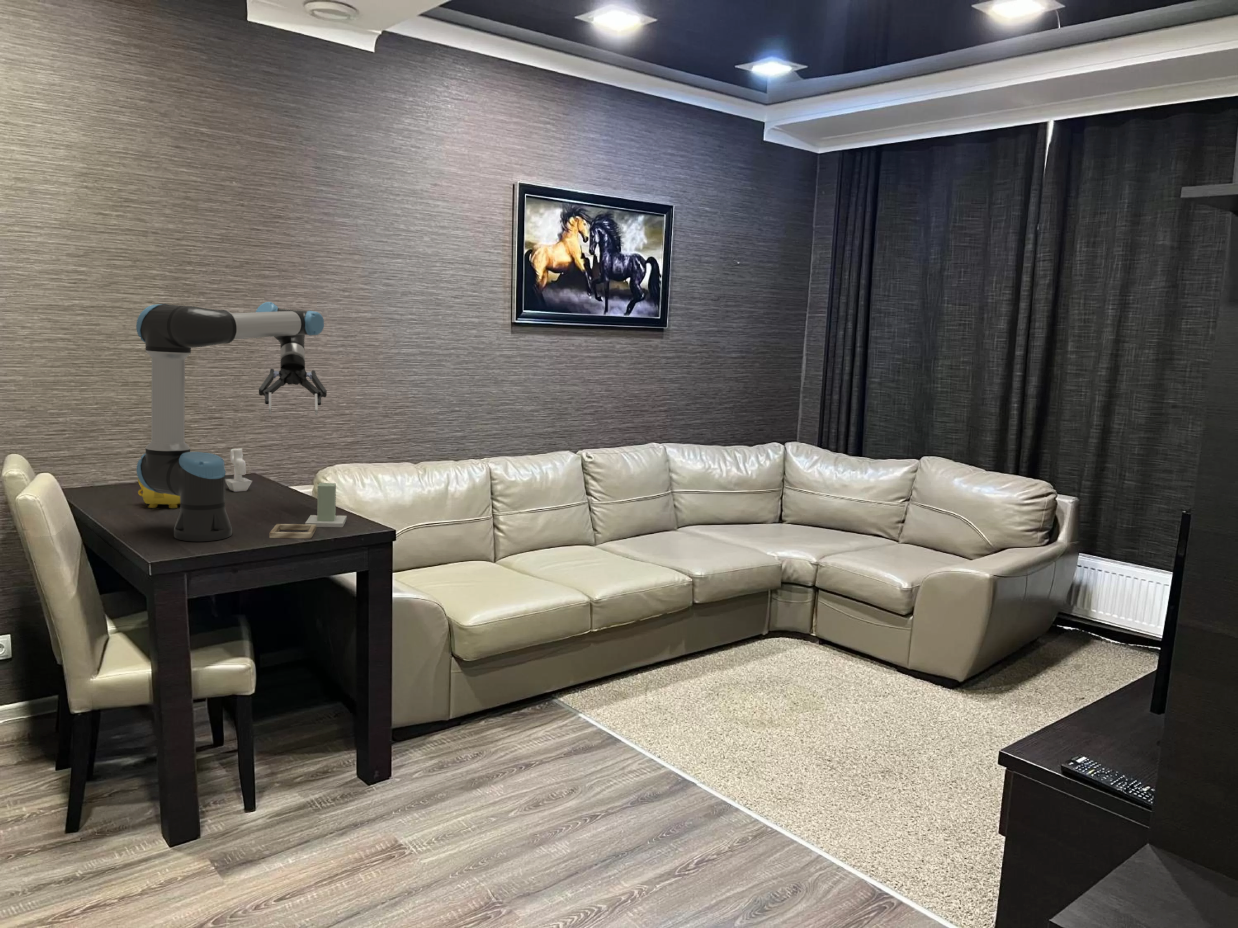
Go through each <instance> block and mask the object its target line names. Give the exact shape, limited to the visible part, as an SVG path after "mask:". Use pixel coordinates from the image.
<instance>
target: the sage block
mask: <svg viewBox="0 0 1238 928" xmlns="http://www.w3.org/2000/svg"><path fill="white" fill-rule="evenodd" d="M316 487H317V489H316V490H317V492H316V493H317V496H316V498H317V500H316V502H317V506H316V508H317V510H316V511H317V512H316V513H317V521H334V520H335V518H336V516H337V515H336V512H337V511H336V510H337V509H336V507H337V505H336V504H337V501H336V498H337V496H336V495H337V483H335V482H334V483H333V482H319V483H318V484H317V486H316Z"/></svg>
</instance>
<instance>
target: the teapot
mask: <svg viewBox="0 0 1238 928" xmlns="http://www.w3.org/2000/svg"><path fill="white" fill-rule="evenodd" d="M137 482H138V485H139V486H140V489H138V491H137V493H138V496H140V497H142V499H143V502H144V503H145V504H146V505H147V504H148V506H147V508H149V509H156V508H157V507H158V505H168V508H169V509H178V505H180V496H177V495H171V494H166V493H157V492H155V491H152V490H149V489H147V488H146V487H144V486H143V485H142V484H141V482H140V481H139V479H138V478H137Z"/></svg>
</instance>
